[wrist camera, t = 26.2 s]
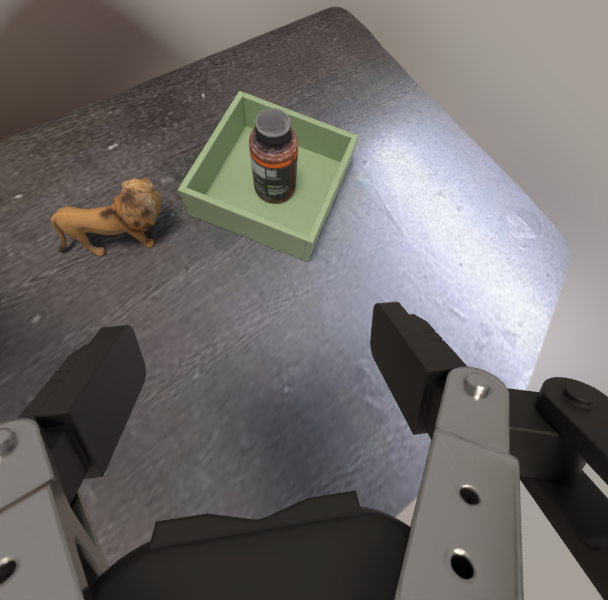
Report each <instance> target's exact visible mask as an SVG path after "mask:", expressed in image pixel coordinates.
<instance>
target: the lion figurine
mask: <svg viewBox="0 0 608 600" xmlns="http://www.w3.org/2000/svg"><path fill="white" fill-rule="evenodd" d="M122 186H123V189H122V191H121V194H120V195H118V196H117V197H115V198H114V200H113V203H112V205H110V206H108V207H98V208H93V209H79V208H75V207H63V208H61V209H59V210H58V211H57V213H55V214H54V215H53V216H52V218H51V222H52V225H53V226H54V228H55V230H56V231H57V233H58V234H59V236H60V238H61V245H60V246H59V249H58V252H62V251H65V249H66V246H67V243H66V238H65V235H64V233H65V234H67V235H68V236H70V237H72V238H74V239H76V240H78V241H79V242H81V244H82V246H83V247H84V248H86V249H88V250H90V251H91V252H93V253H94V254H95V255H97V256H103V255H104V254H105V249H104V248H102V247H94V246H92V245H91V244H90V243H89V241H88V237H87V235H86V233H87V232H91V233H96V234H102V235H117V234H121V233H124V232H127V233H128V234H130V235H132V236H134V237H135V238H136V239H137V240H139V241H140V242H141V243H142V244H143V245H144V246H146V247H152V246H153V245H154V241H153V239H149V238H148V237H146V236H145V234H144V232H143V231H147V230H148V228H149V227H150V226H153V224H154V223H156V217H157V215H158V214H159V212H160V209H161V204H162V199H161V196H160V195H159V193H158V192H157V191H156V190H155V189H154V187H153V185H152V183H151V182H150V181H149V179H147V178H143V179H142V180H138V179H133V180H129V181H125V182H123V183H122ZM63 232H64V233H63Z"/></svg>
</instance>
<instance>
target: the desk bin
mask: <svg viewBox="0 0 608 600" xmlns="http://www.w3.org/2000/svg"><path fill="white" fill-rule="evenodd" d="M268 108H276V109H280V110H282V111H284V112H285V113H286V114H287V115H288V116H289V118H290V120H291V128H292V129H293V130H294V132H295V133H296V135H297V138H298V162H297V177H296V187H295V191H294V193H293V194H292V196H291V197H290V198H289V199H287V200H285V201H283V202H279V203H271V202H268V201H265V200H263V199H262V198H261V197H259V195H258V194H257V193H256V191H255V188H254V182H253V174H252V167H251V159H250V151H249V136H250V134H251V131H252V130H253V128H254V127H255V119H256V116H257V115H258V114H259V113H260V112H261V111H263V110H265V109H268ZM358 137H359V136H358V135H355V134H352V133H349V132H347V131H344V130H342V129H339V128H336V127H334V126H331V125H328V124H326V123H323V122H320V121H318V120H315V119H312V118H310V117H307V116H305V115H302V114H299V113H297V112H294V111H291V110H289V109H286V108H283V107H281V106H278V105H275V104H273V103H270V102H268V101H265V100H262V99H260V98H257V97H254V96H252V95H249V94H246V93H244V92H241V91H239V92H238V94H237V96H236V97H235V99H234V100H233V102H232V104H231V105H230V107H229V108H228V110H227V112H226V113H225V115H224V116H223V118H222V120H221V121H220V123H219V124H218V126H217V128H216V129H215V131H214V132H213V134H212V136H211V137H210V139H209V140H208V142H207V144H206V145H205V147H204V148H203V150H202V152H201V153H200V155H199V157H198V158H197V160H196V161H195V163H194V165H193V166H192V168H191V169H190V171H189V173H188V174H187V176H186V177H185V179H184V181H183V182H182V184H181V185H180V187H179V189H178V192H179V194H180V196H181V198H182V200H183V202H184V204H185V206H186V208H187V210H188V212H189V215H191V216H193V217H196V218H198V219H201V220H203V221H206V222H208V223H211V224H213V225H216V226H218V227H221V228H223V229H226V230H228V231H231V232H234V233H236V234H239V235H241V236H244V237H246V238H249V239H251V240H254V241H256V242H259V243H261V244H264V245H266V246H269V247H271V248H274V249H276V250H279V251H282V252H284V253H287V254H289V255H292V256H294V257H297V258H299V259H302V260H304V261H307V262H308V261H309V259H310V257H311V254H312V252H313V250H314V247H315V245H316V243H317V240H318V238H319V236H320V233H321V231H322V229H323V226H324V224H325V222H326V219H327V217H328V215H329V212H330V210H331V208H332V205H333V203H334V200H335V198H336V196H337V193H338V191H339V189H340V186H341V184H342V182H343V179H344V177H345V175H346V172H347V170H348V168H349V165H350V162H351V159H352V156H353V153H354V150H355V146H356V143H357V140H358Z"/></svg>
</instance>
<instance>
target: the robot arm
mask: <svg viewBox="0 0 608 600" xmlns="http://www.w3.org/2000/svg"><path fill="white" fill-rule="evenodd" d="M370 345H371V352H372V356H373V358H374V360H375V362H376V364H377V366H378V368H379V370H380V372H381V374H382V376H383V377H384V379H385V381H386V383H387V385H388V387H389V389H390V391H391V393H392V395H393V397H394V398H395V400H396V402H397V404H398V406H399V408H400V410H401V412H402V414H403V416H404V418H405V419H406V421H407V423H408V425H409V427H410V429H411V431H412V433H413V435H415V434H422V433H428V435H429V436H430V438H431V443H430V447H429V451H428V456H427V460H426V464H425V468H424V472H423V476H422V480H421V485H420V489H419V493H418V497H417V501H416V506H415V509H414V513H413V518H412V521H411V526H410V527H409V526H408V525H406V524H405V523H403V522H402V521H400V520H398V519H396V518H395V517H393V516H391V515H388V514H386V513H383V512H381V511H378V510H374V509H371V508H367V507H360V505H359V501H358V498H357V494H356V491H350V492H344V493H337V494H331V495H324V496H318V497H312V498H308V499H305V500H303V501H301V502H299V503H296V504H294V505H292V506H290V507H288V508H285V509H283V510H281V511H279V512H276V513H274V514H272V515H270V516H267V517H265V518H263V519H258V520H253V519H245V518H237V517H229V516H221V515H213V514H202V515H196V516H190V517H183V518H177V519H170V520H164V521H158V522H156V523H155V527H154V531H153V535H152V538H151V541H150V542H148V543H146V544H144V545H142V546H140V547H138V548H137V549H135V550H133V551H131V552H130V553H128V554H127V555H125V556H124V557H122V558H121V559H120V560H118V561H117V562H116V563H114V564H113V565H112V566H111V567H109V565H108V563H107V561H106V559H105V557H104V555H103V552H102V550H101V547H100V544H99V542H98V539H97V536H96V534H95V531H94V528H93V526H92V523H91V520H90V518H89V515H88V512H87V510H86V507H85V504H84V502H83V499H82V496H81V495H80V493H79V491H78V489H79V487H80V485H81V483H82V481H83V479H89V478H96V477H103V476H104V473H105V471H106V469H107V466H108V464H109V462H110V460H111V457H112V455H113V453H114V450H115V448H116V446H117V443H118V441H119V439H120V437H121V434H122V432H123V430H124V427H125V425H126V423H127V421H128V418H129V416H130V414H131V411H132V409H133V407H134V405H135V402H136V400H137V398H138V395H139V393H140V391H141V389H142V386H143V384H144V381H145V376H146V369H145V363H144V360H143V357H142V354H141V351H140V348H139V345H138V342H137V339H136V336H135V333H134V331H133V329H132V327H131V326H129V325H125V326H114V327H103V328H101V329H100V330H99V332H98V333H97V334H96V335H95V337H94V338H93V339H92V341H91V342H90V343H89V344H88V345H84V346H82V347H81V348H80V349H78V350H77V351H75V352H74V353H73V354H71V355H70V356H69V357H68V358H67V359H66V360H65V361H64V363H63V364H62V365H61V366H60V367H59V371H56V372H55V374H54V375H53V376H52V377H51V378H50V382H47V383H46V384H45V386H44V387H43V388H42V389H41V391H40V392H39V393H38V394H37V395H36V397H35V398H34V399H33V400H32V402H31V403H30V404H29V405H28V406H27V408H26V409H25V410H24V411H23V412H22V414H21V415H20V416H19V417H18V419H13V420H9V421H6V422H3V423H0V600H524V596H523V595H524V593H523V563H522V535H521V505H520V480H521V482H522V483H523V484H524V486H525V487H526V489H527V490H528V492H529V493H530V494H531V496H532V497H533V499H534V500H535V502H536V503H537V504H538V506H539V507H540V509H541V510H542V512H543V513H544V515H545V516H546V517H547V519H548V520H549V522H550V523H551V525H552V526H553V528H554V529H555V530H556V532H557V533H558V535H559V536H560V538H561V539H562V540H563V542H564V543H565V545H566V546H567V548H568V549H569V550H570V552H571V553H572V555H573V556H574V558H575V559H576V561H577V562H578V563H579V565H580V566H581V568H582V569H583V571H584V572H585V573H586V575H587V576H588V578H589V579H590V580H591V582H592V583H593V585H594V586H595V587H596V589H597V591H598V592H599V593H600V595H601V596H602V598H603V599H604V600H608V498H607V497H606V496H605V495H604V494H603V493H602V492H601V490H600V489H599V488H598V487H597V486H596V485H595V484H594V483H593V481H592V480H591V479H590V478H589V477H588V476H587V475H586V474H585V473H584V471H583V470H582V469H583V468H584V466H585V464H586V463H588V464H589V466H590V467H591V468H592V469H593V470H594V471H595V472H596V473H597V474H598V475H599V476H600V477H601V478H602V479H603V480H604V482H605V483H606V484H607V485H608V397H607V396H606V395H605V394H603V393H602V392H600V391H599V390H597V389H596V388H594V387H592V386H590V385H588V384H585V383H583V382H580V381H577V380H573V379H569V378H562V377H554V378H550V379H547V380H546V381H545V382H544V383H543V385H542V388H541V390H540V392H532V391H525V390H516V389H509V388H507V387H506V386H505V384H504V383H503V382H502V381H501V380H500V379H499V378H497V377H496V376H494V375H493V374H491V373H489V372H486V371H484V370H481V369H478V368H473V367H467V366H466V364H465V363H464V362H463V361H462V360H461V359H460V358H459V357H458V356H457V354H456V353H455V352H454V351H453V350H452V349H451V348H450V347H449V346H448V344H447V343H446V342H445V341H442V338H441V337H440V336H439V334H438V333H435V330H434V329H433V328H432V327H431V326H430V325H429V323H428V322H427V321H425V320H423V319H421V318H420V317H418V316H416V315H414V314H411V315H409V314H408V313H407V312H406V310H405V309H404V308H403V307H402V306H401V304H400V303H399V302H387V303H377V304H375V306H374V309H373V319H372V329H371V340H370Z"/></svg>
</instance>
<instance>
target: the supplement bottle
mask: <svg viewBox="0 0 608 600" xmlns="http://www.w3.org/2000/svg"><path fill="white" fill-rule="evenodd" d="M249 151H250V159H251V167H252V174H253V182H254V188H255V191H256V193H257V194H258V195H259V197H261V198H262V199H263V200H265V201H268V202H271V203H279V202H283V201H285V200H287V199H289V198H290V197H291V196H292V194H293V193H294V191H295V187H296V177H297V162H298V138H297V135H296V133H295V132H294V130H293V129H292V128H291V120H290V118H289V116H288V115H287V114H286V113H285V112H284V111H282V110H280V109H276V108H268V109H265V110H263V111H261V112H260V113H259V114H258V115H257V116H256V119H255V127H254V128H253V130H252V131H251V134H250V136H249Z"/></svg>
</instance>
